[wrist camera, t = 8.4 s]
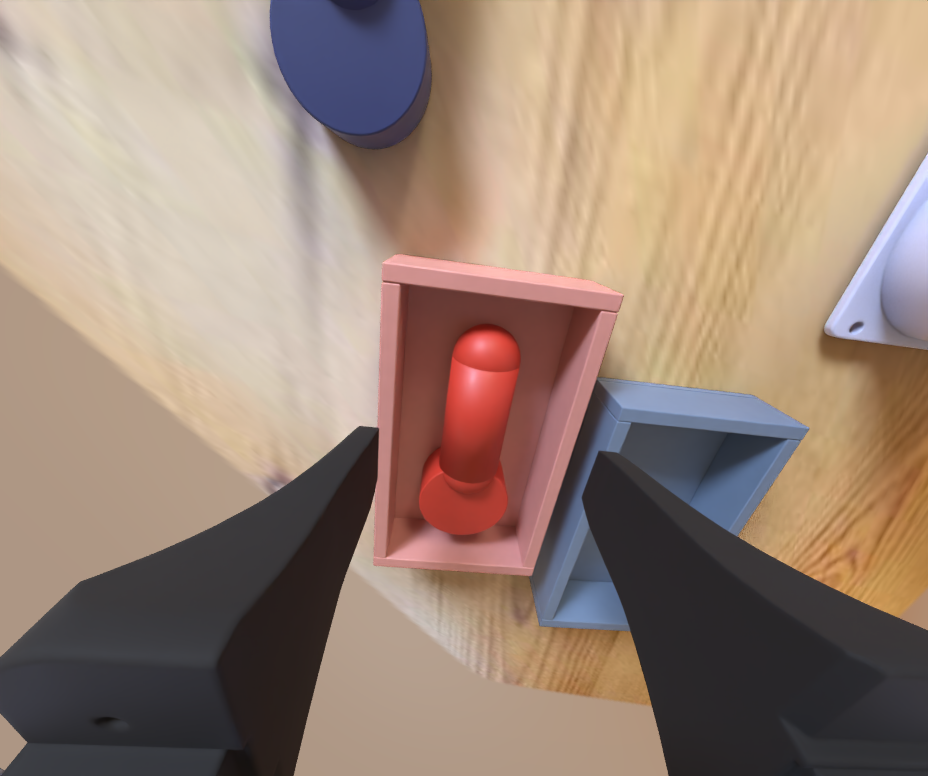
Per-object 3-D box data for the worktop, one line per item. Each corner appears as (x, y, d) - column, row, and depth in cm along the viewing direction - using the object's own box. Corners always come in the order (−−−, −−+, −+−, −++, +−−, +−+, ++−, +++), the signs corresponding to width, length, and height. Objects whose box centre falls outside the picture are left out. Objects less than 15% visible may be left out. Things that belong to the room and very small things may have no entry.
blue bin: (594, 376, 15) (622, 407, 13) (752, 394, 16) (810, 428, 13) (528, 576, 21) (539, 626, 19) (646, 584, 22) (672, 634, 19)
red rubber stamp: (438, 309, 14) (435, 328, 11) (537, 322, 14) (554, 342, 12) (419, 500, 18) (414, 543, 15) (495, 507, 18) (501, 549, 16)
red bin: (396, 253, 13) (381, 261, 10) (592, 280, 14) (625, 294, 11) (384, 518, 19) (373, 566, 16) (521, 529, 19) (531, 576, 17)
